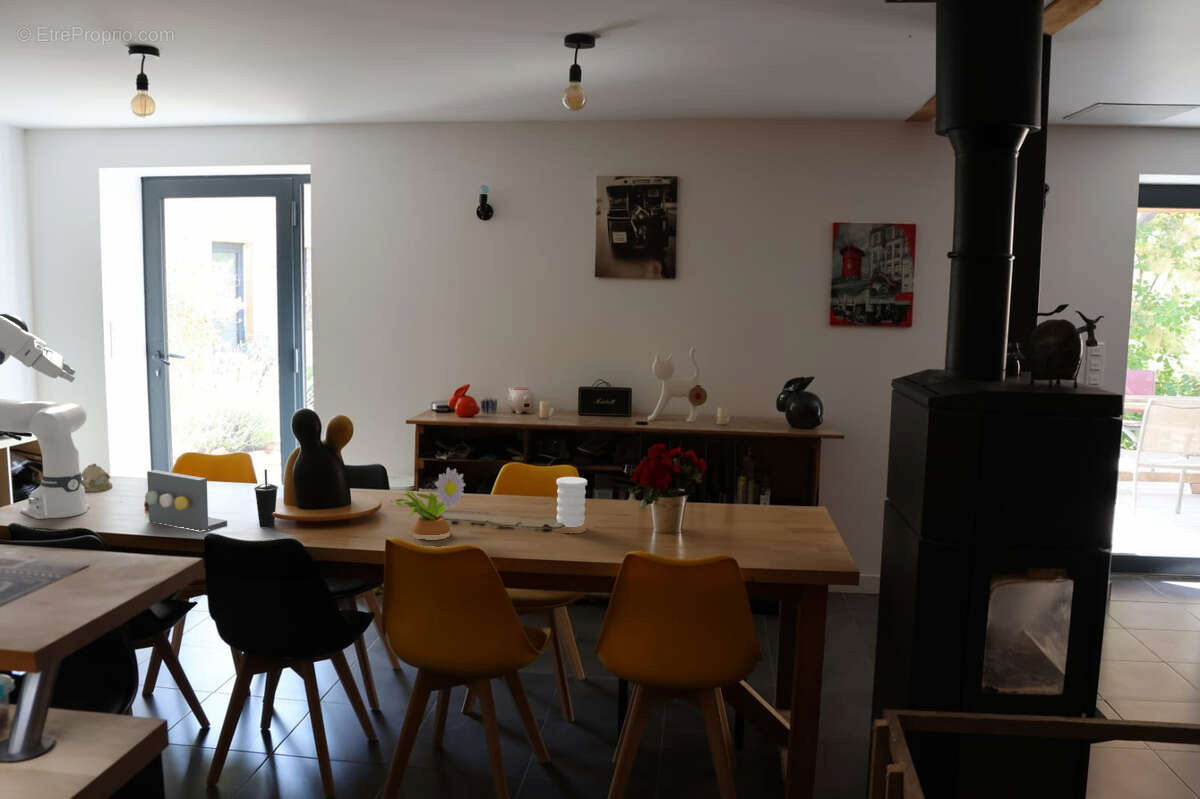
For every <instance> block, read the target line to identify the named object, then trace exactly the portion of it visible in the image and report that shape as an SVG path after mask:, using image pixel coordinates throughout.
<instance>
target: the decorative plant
mask: <svg viewBox="0 0 1200 799" xmlns="http://www.w3.org/2000/svg"><path fill="white" fill-rule="evenodd" d="M445 471H446V473H445V472H444V473H442V474H441V473H439V474H438V477H439V478H438V481H435V482H434V484H435V486H436V487H437V491H436V492H435V493H432V492H431V491H430V492H429V495H428V494H423V493H417V494H416V495H415V494H414V493H413V491H412V490H411V491H410V490H406V493H403V494H402V495H404V496H406V497H408V498H409V499H410V500H411V501H409V500H408V499H404V498H398V499H395V500H391V499H390V502H391V503H395V504H397V505H398V506H404V505H407V506H408V507H409V508H411V511H410V514H409V517H410V516H412V515H413V514H415V513H417V514H418V515H419V516H418V518H417V519H418V520H417V522H416V523H415V525H414V526H413V529H412V533H413V532H414V533H415V534H419V535H440V534H445V533H448V532H449V531H450V532H451V530H450V525H449V524H448V523H447V521H446V519H445V517H444V516H443V515H442V514H443V513H444V512H445V511H446V510H447V509H448V508H450V507H451V509H453V510H454V509H455V506H456V505H457V504H459V505H461V500H462V499H463V497H464V496H465V493H464V492H463V491H464V487H466V483H465V482H464V479H463V477H464V473H460V474H459V473H458V472H457V469H456V468H454V469H450V467H447V468H446V470H445ZM418 497H420V498H423V499H427V500H428V502H427V505H426V504H425V503H424V502H423V500H422V499H420V498H418ZM438 497H439V503H438V499H437V498H438Z"/></svg>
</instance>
